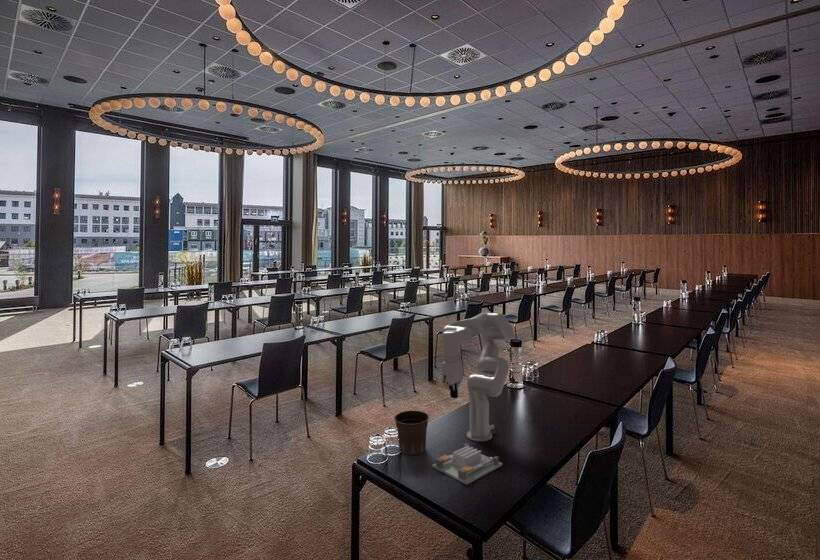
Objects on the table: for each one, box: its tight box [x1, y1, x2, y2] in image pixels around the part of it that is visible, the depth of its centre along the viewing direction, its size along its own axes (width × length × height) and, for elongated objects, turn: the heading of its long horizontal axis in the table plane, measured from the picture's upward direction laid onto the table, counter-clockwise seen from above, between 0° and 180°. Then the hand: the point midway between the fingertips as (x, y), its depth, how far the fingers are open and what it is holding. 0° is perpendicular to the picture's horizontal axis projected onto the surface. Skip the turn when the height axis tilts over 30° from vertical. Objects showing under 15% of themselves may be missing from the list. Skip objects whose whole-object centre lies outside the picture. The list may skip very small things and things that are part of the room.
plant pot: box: [394, 410, 430, 456], centre depth 211 cm, size 16×16×16 cm
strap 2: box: [461, 456, 494, 475], centre depth 190 cm, size 19×3×2 cm, turn 131°
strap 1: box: [438, 453, 453, 463], centre depth 200 cm, size 19×3×2 cm, turn 131°
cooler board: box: [431, 443, 503, 485], centre depth 194 cm, size 23×20×6 cm
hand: (454, 397), depth 203 cm, fingers closed
